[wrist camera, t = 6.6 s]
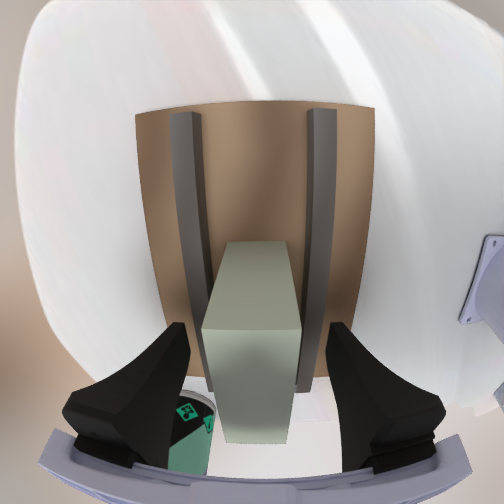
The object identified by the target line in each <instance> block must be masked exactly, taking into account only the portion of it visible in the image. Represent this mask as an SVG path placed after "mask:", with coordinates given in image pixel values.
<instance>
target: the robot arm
mask: <svg viewBox="0 0 504 504" xmlns="http://www.w3.org/2000/svg"><path fill="white" fill-rule="evenodd" d="M481 320H484V321H485V322H486V323H487V324H488V326H489V327H490V328H491V329H492V330H493V332H494V333H495V334H496V335H497V337H498V338H499V339H500V340H501V342H502V343H503V344H504V236H488V237H487V238H486V239H485V243H484V247H483V251H482V254H481V258H480V262H479V265H478V268H477V272H476V275H475V278H474V281H473V284H472V287H471V290H470V293H469V296H468V298H467V301H466V304H465V306H464V309H463V311H462V314H461V316H460V319H459V322H460V323H461V324H462V325H464V324H468V323H473V322H477V321H481ZM190 355H191V349H190V345H189V340H188V336H187V331H186V327H185V323H183V322H173V323H172V324H171V325H170V326H169V327H168V328H167V329H166V330H165V331H164V332H163V333H162V334H161V335H160V336H159V337H158V338H157V339H156V340H155V341H154V342H153V343H152V344H151V345H150V346H149V347H148V348H147V349H146V350H145V351H143V352H142V353H141V354H140V355H139V356H138V357H137V358H135V359H134V360H133V361H132V362H130V363H129V364H128V365H126V366H125V367H123V368H122V369H121V370H119V371H117V372H116V373H114V374H112V375H111V376H109V377H107V378H105V379H103V380H101V381H99V382H97V383H95V384H93V385H91V386H88V387H86V388H83V389H80V390H77V391H74V392H72V394H71V395H70V397H69V399H68V401H67V403H66V404H65V406H64V408H63V410H62V414H63V416H64V418H65V419H66V421H67V422H68V423H69V424H70V425H71V426H72V427H73V429H74V430H75V431H76V432H77V433H78V436H77V438H75V437H74V436H72V435H70V434H68V433H66V432H63V431H61V430H59V429H57V428H55V429H54V430H53V432H52V434H51V436H50V438H49V440H48V442H47V444H46V446H45V449H44V451H43V453H42V455H41V457H40V459H39V461H38V464H39V465H40V466H41V467H43V468H44V469H45V470H47V471H48V472H49V473H51V474H52V475H54V476H55V477H56V478H58V479H59V480H61V481H62V482H64V483H65V484H67V485H70V486H71V487H73V488H75V489H77V490H79V491H81V492H84V493H86V494H88V495H90V496H93V497H95V498H97V499H99V500H101V501H104V502H106V503H109V504H417V503H419V502H422V501H424V500H427V499H429V498H431V497H434V496H436V495H438V494H440V493H442V492H444V491H446V490H448V489H449V488H451V487H453V486H454V485H456V484H457V483H459V482H460V481H462V480H463V479H465V478H466V477H467V476H469V475H470V474H472V472H473V471H472V468H471V466H470V463H469V460H468V457H467V455H466V452H465V449H464V447H463V445H462V442H461V439H460V437H459V435H458V434H456V435H453V436H451V437H448V438H446V439H443V440H441V441H439V442H437V443H436V444H434V443H433V439H434V438H435V435H434V432H433V431H434V430H435V429H436V427H437V426H438V425H439V424H440V423H441V422H442V420H443V419H444V417H445V415H446V410H445V408H444V406H443V403H442V401H441V400H440V398H439V396H437V395H435V394H432V393H430V392H427V391H425V390H422V389H420V388H418V387H416V386H414V385H413V384H411V383H409V382H407V381H406V380H404V379H402V378H401V377H399V376H398V375H396V374H395V373H393V372H392V371H391V370H389V369H388V368H387V367H386V366H384V365H383V364H382V363H381V362H379V361H378V360H377V359H376V358H375V357H374V356H373V355H372V354H371V353H370V352H369V351H368V350H367V349H366V348H365V347H364V346H363V345H362V344H361V343H360V342H359V340H358V339H357V338H356V337H355V336H354V335H353V334H352V332H351V331H350V330H349V329H348V328H347V326H346V325H345V324H344V323H343V322H330V328H329V333H328V339H327V344H326V349H325V355H326V363H327V369H328V373H329V377H330V381H331V385H332V388H333V392H334V396H335V400H336V404H337V409H338V415H339V423H340V432H341V446H342V473H337V474H330V475H322V476H313V477H302V478H285V479H243V478H226V477H215V476H205V475H197V474H190V473H184V472H178V471H172V470H168V461H169V449H170V440H171V433H172V426H173V420H174V415H175V409H176V405H177V402H178V399H179V395H180V392H181V389H182V386H183V383H184V380H185V377H186V374H187V370H188V367H189V361H190Z"/></svg>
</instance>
